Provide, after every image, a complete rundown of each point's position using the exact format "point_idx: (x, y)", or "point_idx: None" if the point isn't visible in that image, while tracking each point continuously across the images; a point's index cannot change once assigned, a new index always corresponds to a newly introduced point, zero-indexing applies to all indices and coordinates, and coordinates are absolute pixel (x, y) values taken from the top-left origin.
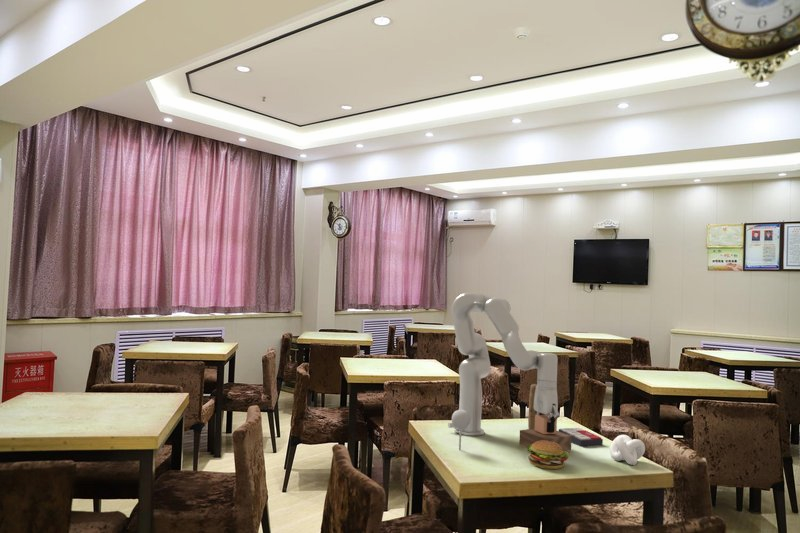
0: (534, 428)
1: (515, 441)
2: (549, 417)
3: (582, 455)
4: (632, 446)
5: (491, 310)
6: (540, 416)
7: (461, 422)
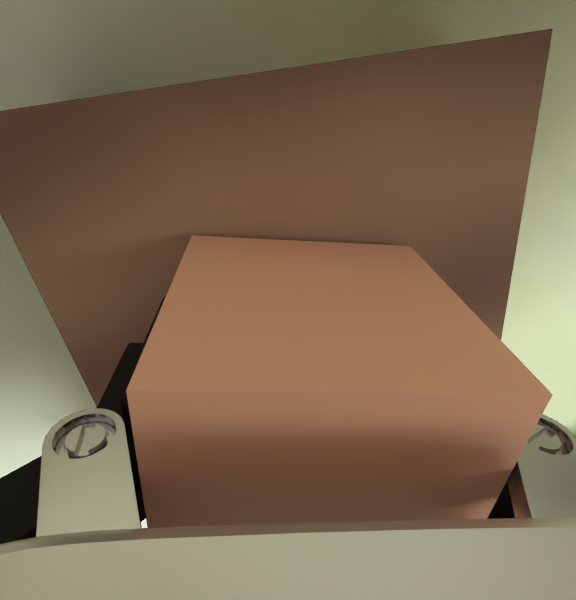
0: (500, 323)
1: (549, 91)
2: (39, 518)
3: (39, 398)
4: None
5: None
6: (369, 431)
7: None
